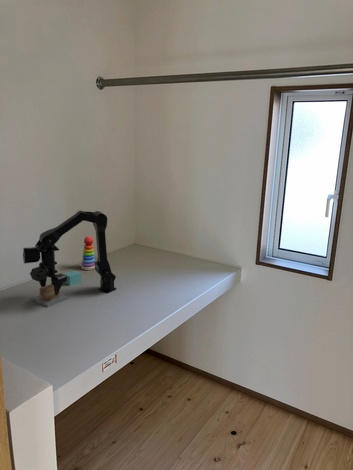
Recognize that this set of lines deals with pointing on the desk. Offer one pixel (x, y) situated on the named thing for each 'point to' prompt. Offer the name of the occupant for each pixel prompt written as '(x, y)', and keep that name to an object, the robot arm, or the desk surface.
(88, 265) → the stacking toy
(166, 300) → the desk surface
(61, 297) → the baseplate
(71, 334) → the desk surface
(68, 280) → the teal brick
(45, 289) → the walnut brick
